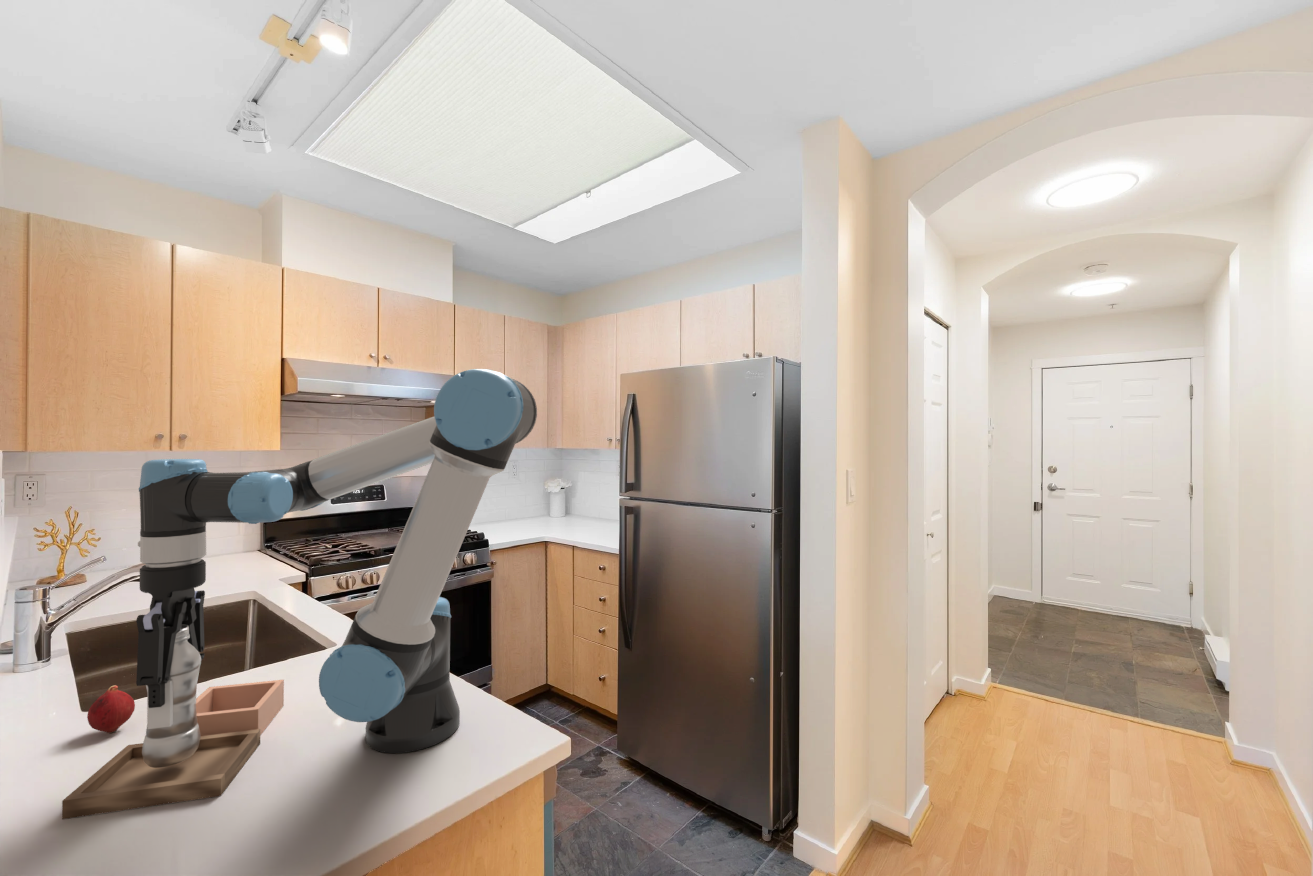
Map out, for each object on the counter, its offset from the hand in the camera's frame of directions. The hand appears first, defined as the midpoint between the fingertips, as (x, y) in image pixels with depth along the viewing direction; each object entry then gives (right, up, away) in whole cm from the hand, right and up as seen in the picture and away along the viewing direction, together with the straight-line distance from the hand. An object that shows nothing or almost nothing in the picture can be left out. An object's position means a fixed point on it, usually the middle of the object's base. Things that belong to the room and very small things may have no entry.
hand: (172, 715), depth 84 cm
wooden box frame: (-2, -9, +15) cm, 18 cm away
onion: (-21, -9, +12) cm, 27 cm away
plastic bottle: (0, -7, 0) cm, 7 cm away
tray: (0, -9, 0) cm, 9 cm away
